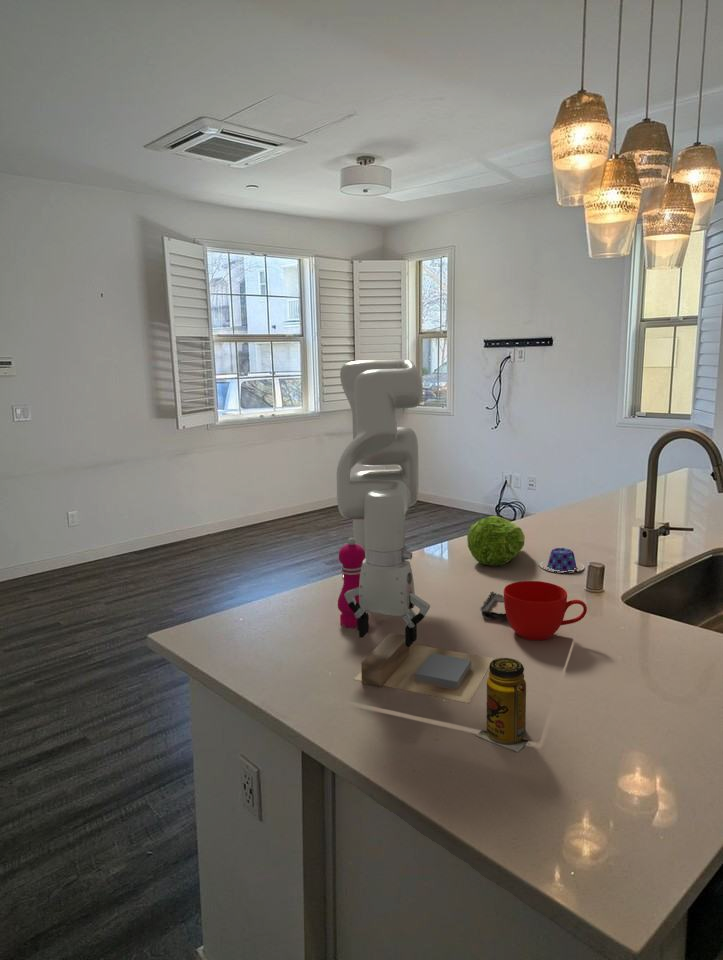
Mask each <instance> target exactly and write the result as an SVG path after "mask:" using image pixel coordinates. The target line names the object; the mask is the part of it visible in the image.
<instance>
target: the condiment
mask: <svg viewBox="0 0 723 960" xmlns="http://www.w3.org/2000/svg"><path fill="white" fill-rule="evenodd" d="M488 670H489V671H488V678H486V679H487V680H486V711H485V713H486V730H483V729H482V730H480V731H479V732H478V733H477V734H475V736H477V737H480V738H482V739H483V740H486V741H487V742H490V743H493V744H495V745H498V746H501V747H504V748H507V749H510V750H511V751H515V752H517V753H519V752H520V751H521V749H523V748H524V747H525V746H526V745H527V744H528V743H529V741H530V740H529V739H524V738H523V737H524V736H525V734H526V731H527V728H526V724H527V720H526V719H527V718H526V717H527V716H526V715H527V713H526V712H527V711H526V709H527V682H526V680H525V673H524V671H525V667H524V665H523V663H521V662H520V661H519V660H517V659H514V658H510V657H497V658H494V660H493V661H492V662H491V663H490V666H489V668H488Z"/></svg>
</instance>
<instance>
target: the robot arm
mask: <svg viewBox="0 0 723 960" xmlns="http://www.w3.org/2000/svg"><path fill="white" fill-rule="evenodd" d="M339 377H340V383H341V387H342V390H343V392H344V394H345V396H346V399H347V401H348V403H349V406H350V409H351V415H352V416H351V418H352V419H351V420H352V440H351V442H349V444H348V445H347V446H346V448H345V449H344V450H343V452H342V454H341V456H340V458H339V461H338V463H337V466H336V467H337V468H336V499H337V500H336V501H337V507H338V511H339V513H340V515H341V516H342V517H343V518H345V519H347V520H352V525H353V529H352V530H353V538H354V539H355V544H357V545H359V546H361V547H362V548H363V549H364V551H365V559H364V560H363V562H362V567H361V573H360V581H359V587H357V588H354V589H352V590H349V591H347V592H346V593H345V594H344V596H345V598H346V600H347V602H348V604H349V608H350V609H351V610H352V611H353V612H354V613H355V617H356V618H357V627H356V628H357V632H358V638H361V639H362V638H364V637H365V636H367V634H369V632H370V616H369V613H368V612H370V613H376V614H381V615H386V616H393V617H398V618H399V617H400V618H402V620H403V621H404V622H405V624H406V625H407V626H405V629H404V630H405V631H404V632H405V634H404V635H405V642H406V646H407V647H410V646H411V645H412V644H414V642H416V641H417V635H418V632H417V631H418V628H417V625H418V623H420V622H421V621H423V619H424V618H425V617H426V615H427V614H428V613H429V610H430V608H431V604H430V603H428V602H426V601H425V600H424V599H422V598H421V597H419V596H417V594H416V593H415V583H414V576H413V571H412V565H411V562H410V561H409V560H411V561H412V559H413V552H411V551H408V550H407V546H406V514H407V511H408V510H409V509H410V507H412V506H414V505H415V504H416V503H417V501H418V497H419V441H418V437H417V435H416V432H415V431H414V430H413V429H412V428H410V427H408V426H398V424H397V412H396V409H413V408H417V407H418V406H420V404H421V403H422V402H421V401H422V398H423V383H422V379H421V375H420V373H419V369H417V366H416V365H415V363H414V362H413V360H410V359H406V358H405V359H403V358H402V359H364V360H363V359H362V360H353V361H349V362H346V363H344V364H343V365H342V366H341V368H340V371H339ZM356 464H359V465H360V466H364V467H388V466H389V467H391V466H393V467H394V466H397V467H399V469H398V468H397V469H395V468H394V469H370V470H369V469H367V470H362V471H361V470H360V471H357V472H355V473H353V474H352V475H351V471H352V469H353V468H354V467H355V465H356ZM341 573H342V572H341ZM341 576H342V577H341V578H342V579H341V580H342V581H343V582H344V575H343V573H342V574H341ZM356 595H359V603H358V602H357V601H356V600H355V597H354V596H356ZM415 607H417V608H418V609H419V612H418V613H417V614H416V612H415V611H414V610H413V609H414V608H415Z"/></svg>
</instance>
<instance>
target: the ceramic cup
mask: <svg viewBox="0 0 723 960" xmlns="http://www.w3.org/2000/svg"><path fill="white" fill-rule="evenodd" d="M503 597H504V602H503V605H504V611H505V613H506V616H507V619H508V621H509V623H508V624H509V625H510V627H511V628H512V630H513V631H514V632H515V633H516V634H517V635H518V636H519V637H521V638H523V639H526V640H530V641H544V640H548V639H550V638H551V637H552V636H553V635H554V634H555V633H557V632H558V630H559V629H560V628H561V626H565V625H571V624H576V623H578V622H579V621H581V620H582V619H584V618H585V616H586V614H587V613H588V612H587V610H588V607H587V605H586V603H585V602H584V601H583V600H581V599H572V600H569V601H568V600H567V599H568V593H567V590H566V589H564V587H562V586H560V585H557V584H555V583H550V582H546V581H539V580H524V581H523V580H521V581H520V580H519V581H516V582H511V583H509V584H507V585H505V587H504V589H503ZM575 604H576V605H581V607H582V608H583V611H582V612H581V614H579V616H577V617H573V618H571V619H567V620H566V619H565V620H564V618H565V616H566V615H565V614H566V612H567V610H568V609H569V608H570V607H571V606H572V605H575Z"/></svg>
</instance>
